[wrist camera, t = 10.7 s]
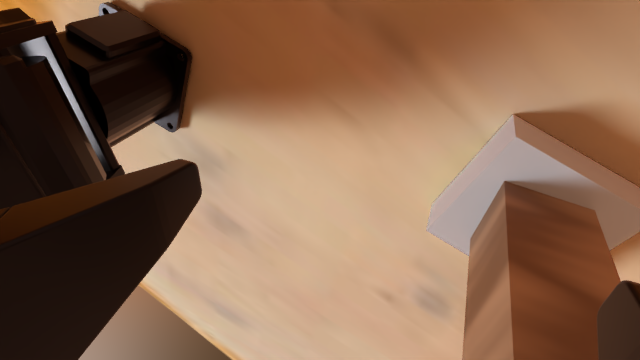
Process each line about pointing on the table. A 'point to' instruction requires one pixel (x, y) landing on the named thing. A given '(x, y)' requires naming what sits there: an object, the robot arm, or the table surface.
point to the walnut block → (536, 279)
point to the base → (533, 185)
